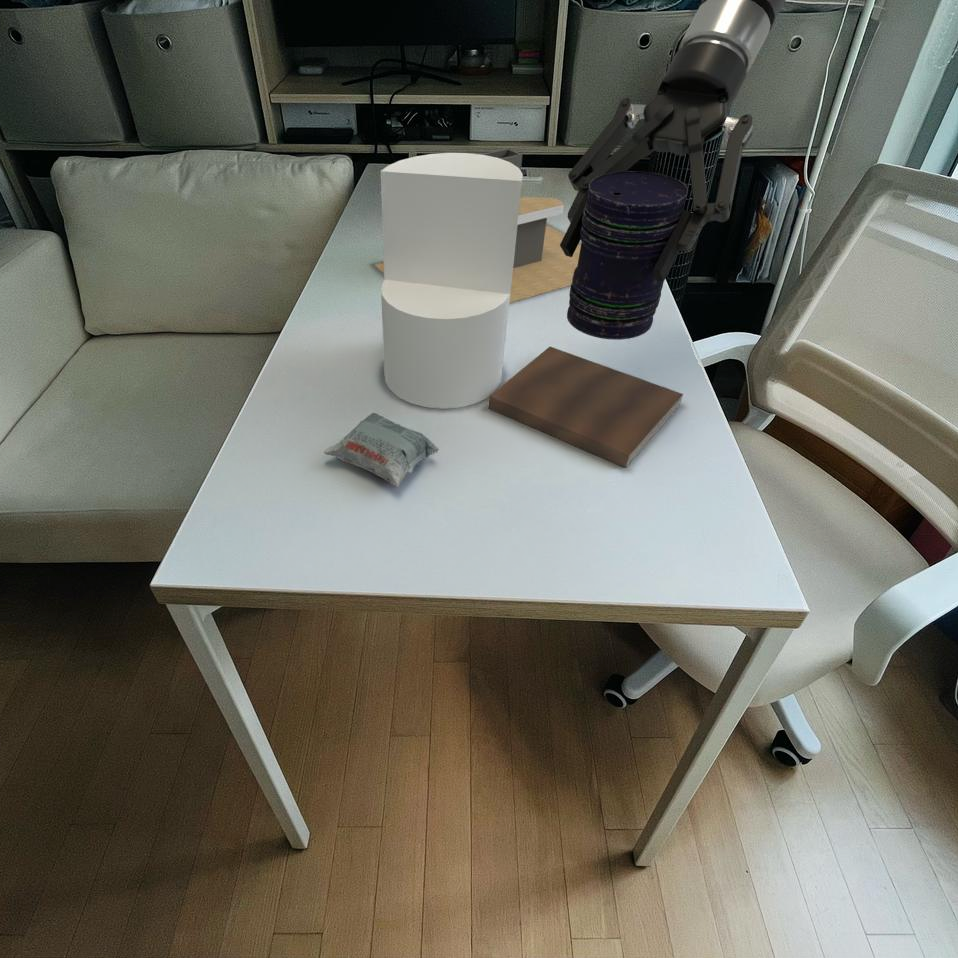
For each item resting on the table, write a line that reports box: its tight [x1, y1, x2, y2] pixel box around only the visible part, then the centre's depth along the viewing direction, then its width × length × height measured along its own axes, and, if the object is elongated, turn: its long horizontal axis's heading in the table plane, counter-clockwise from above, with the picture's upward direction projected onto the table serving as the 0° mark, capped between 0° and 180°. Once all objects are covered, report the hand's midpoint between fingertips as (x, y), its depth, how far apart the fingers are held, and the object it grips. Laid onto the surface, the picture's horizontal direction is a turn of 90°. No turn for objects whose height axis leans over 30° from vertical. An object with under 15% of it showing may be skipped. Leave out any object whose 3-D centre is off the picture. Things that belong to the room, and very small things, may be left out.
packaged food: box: [323, 412, 440, 488], centre depth 82 cm, size 9×12×5 cm
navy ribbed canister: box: [566, 170, 689, 341], centre depth 73 cm, size 10×10×15 cm
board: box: [487, 346, 684, 469], centre depth 89 cm, size 20×16×2 cm
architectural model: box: [374, 148, 581, 304], centre depth 115 cm, size 38×25×20 cm, turn 114°
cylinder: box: [380, 152, 524, 410], centre depth 88 cm, size 17×17×28 cm
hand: (610, 263), depth 71 cm, fingers closed on navy ribbed canister, 10 cm apart
